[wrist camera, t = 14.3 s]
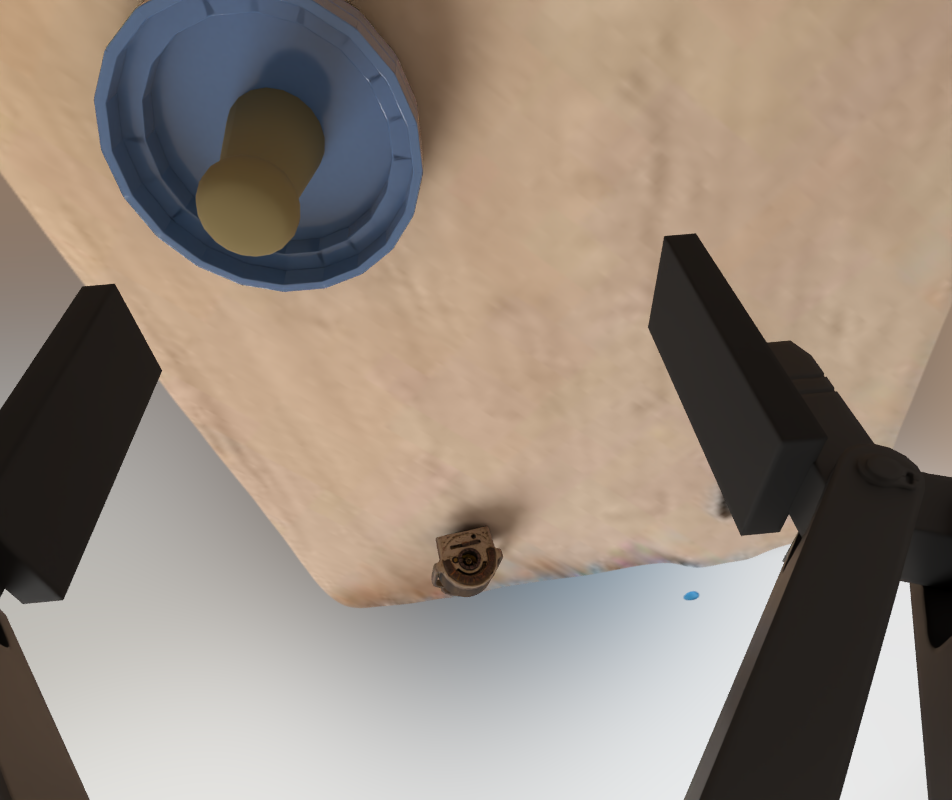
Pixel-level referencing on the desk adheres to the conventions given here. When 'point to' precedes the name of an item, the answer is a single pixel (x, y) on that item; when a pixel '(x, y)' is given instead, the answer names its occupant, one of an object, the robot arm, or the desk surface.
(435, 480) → the desk surface
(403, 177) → the bowl
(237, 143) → the olive peg doll
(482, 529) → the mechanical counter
